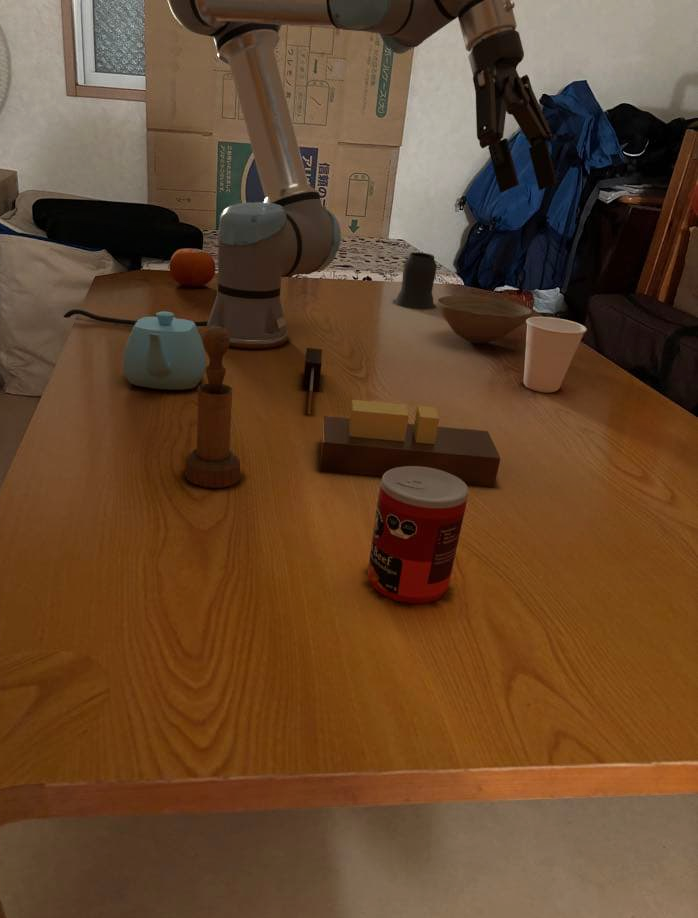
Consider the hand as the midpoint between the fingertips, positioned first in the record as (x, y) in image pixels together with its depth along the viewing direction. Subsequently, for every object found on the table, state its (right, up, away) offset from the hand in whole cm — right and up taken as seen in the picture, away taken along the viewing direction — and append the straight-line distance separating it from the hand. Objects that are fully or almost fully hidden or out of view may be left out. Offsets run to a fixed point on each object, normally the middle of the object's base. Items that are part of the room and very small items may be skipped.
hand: (529, 187), depth 117 cm
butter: (-25, -40, -18) cm, 50 cm away
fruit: (-60, +7, +66) cm, 89 cm away
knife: (-33, -30, +6) cm, 45 cm away
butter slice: (-19, -40, -18) cm, 48 cm away
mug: (-7, +3, +68) cm, 69 cm away
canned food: (-25, -58, -41) cm, 75 cm away
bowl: (+2, -14, +40) cm, 42 cm away
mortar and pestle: (-46, -46, -24) cm, 69 cm away
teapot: (-56, -29, +4) cm, 63 cm away
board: (-21, -44, -16) cm, 51 cm away
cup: (+7, -27, +18) cm, 33 cm away
